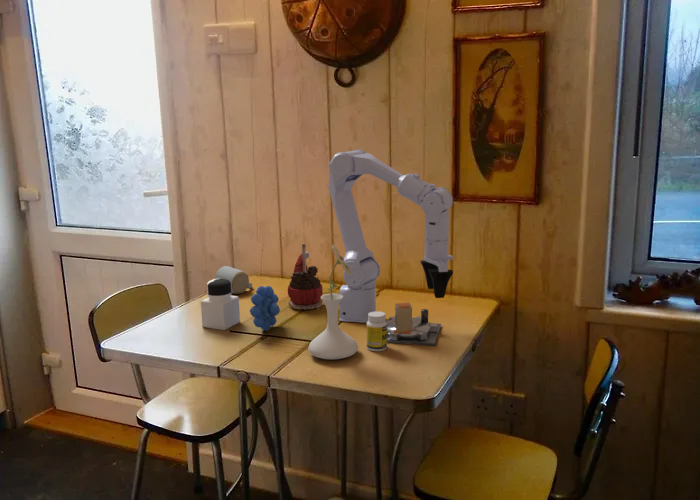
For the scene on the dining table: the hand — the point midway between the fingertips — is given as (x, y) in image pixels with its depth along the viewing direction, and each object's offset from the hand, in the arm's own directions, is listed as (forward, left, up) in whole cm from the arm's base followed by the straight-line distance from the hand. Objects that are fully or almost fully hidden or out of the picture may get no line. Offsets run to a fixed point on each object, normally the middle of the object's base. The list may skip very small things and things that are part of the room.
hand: (435, 293), depth 160 cm
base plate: (-7, -3, -10) cm, 12 cm away
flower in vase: (-21, -19, -10) cm, 30 cm away
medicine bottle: (-55, -6, -10) cm, 56 cm away
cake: (-38, +13, -10) cm, 41 cm away
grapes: (-41, -8, -10) cm, 43 cm away
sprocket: (-7, -3, -10) cm, 12 cm away
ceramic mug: (-64, +23, -10) cm, 69 cm away
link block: (-7, -7, -7) cm, 12 cm away
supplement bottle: (-12, -14, -10) cm, 21 cm away
